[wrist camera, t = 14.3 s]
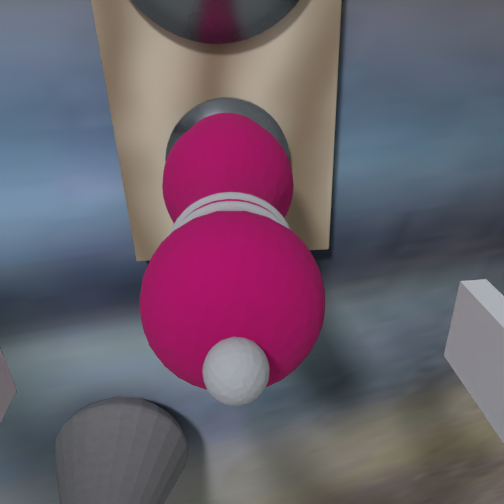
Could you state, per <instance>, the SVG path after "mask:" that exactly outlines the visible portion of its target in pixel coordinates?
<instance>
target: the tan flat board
mask: <svg viewBox="0 0 504 504" xmlns="http://www.w3.org/2000/svg"><path fill="white" fill-rule="evenodd" d="M91 3H92V9H93V15H94V20H95V26H96V32H97V37H98V43H99V49H100V54H101V60H102V66H103V71H104V77H105V83H106V88H107V94H108V100H109V106H110V111H111V117H112V123H113V128H114V134H115V140H116V145H117V151H118V157H119V162H120V168H121V174H122V180H123V185H124V191H125V197H126V202H127V208H128V214H129V219H130V225H131V231H132V236H133V242H134V248H135V253H136V259H137V261H147V260H151V258H152V256H153V254H154V253H155V251H156V250H157V248H158V247H159V245H160V244H161V242H163V241H164V240H165V239H166V238H167V237H168V236H169V235H170V232H171V229H172V227H173V225H174V223H173V221H172V219H171V217H170V215H169V213H168V211H167V208H166V205H165V201H164V198H163V189H162V183H163V171H164V166H165V157H166V148H167V144H168V141H169V138H170V135H171V133H172V131H173V129H174V127H175V125H176V124H177V123H178V121H179V120H180V119H181V118H182V116H183V115H184V114H185V113H186V112H188V111H189V110H190V109H192V108H193V107H195V106H196V105H198V104H200V103H202V102H205V101H207V100H211V99H215V98H222V97H233V98H239V99H244V100H247V101H250V102H252V103H254V104H256V105H258V106H260V107H261V108H263V109H264V110H265V111H267V112H268V113H269V114H270V115H271V116H272V117H273V118H274V119H275V120H276V122H277V123H278V125H279V126H280V128H281V129H282V131H283V133H284V135H285V138H286V140H287V143H288V148H289V153H290V165H291V169H292V175H293V183H294V188H293V197H292V201H291V205H290V207H289V210H288V212H287V214H286V217H285V220H286V221H287V223H288V226H289V228H290V229H291V230H292V231H293V232H294V233H295V234H296V235H297V236H298V237H299V238H300V239H301V240H302V241H303V242H304V243H305V244H306V246H307V247H308V249H309V250H322V249H329V234H330V214H331V195H332V175H333V156H334V136H335V117H336V98H337V78H338V59H339V39H340V20H341V0H299V2H298V3H297V4H296V6H295V7H294V8H293V9H292V10H291V11H290V12H289V13H288V14H287V15H286V16H285V17H284V18H283V19H281V20H280V21H279V22H278V23H276V24H275V25H274V26H273V27H271V28H269V29H268V30H266V31H264V32H263V33H261V34H259V35H256V36H254V37H251V38H249V39H246V40H242V41H238V42H234V43H225V44H207V43H201V42H195V41H191V40H188V39H185V38H182V37H179V36H177V35H175V34H173V33H171V32H169V31H167V30H165V29H164V28H162V27H161V26H159V25H157V24H156V23H154V22H153V21H152V20H151V19H149V18H148V17H147V16H146V15H145V14H144V13H142V12H141V11H140V10H139V9H138V8H137V6H136V5H135V4H134V3H133V2H132V1H131V0H91Z"/></svg>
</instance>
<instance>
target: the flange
mask: <svg viewBox="0 0 504 504" xmlns="http://www.w3.org/2000/svg"><path fill="white" fill-rule="evenodd" d="M217 113H235V114H240V115H243V116H246V117H248V118H250V119H252V120H253V121H255V122H257V123H258V124H259V125H260V126H261V127H263V128H264V129H265V130H267V131H268V132H269V133H271V134H272V135H273V136H274V137H275V138H276V139H277V140H278V141H279V143H280V144H281V146H282V147H283V149H284V150H285V152H286V154H287V157H288V159H289V162H290V153H289V148H288V143H287V140H286V138H285V135H284V133H283V131H282V129H281V128H280V126H279V125H278V123H277V122H276V120H275V119H274V118H273V117H272V116H271V115H270V114H269V113H268V112H267V111H265V110H264V109H263V108H261V107H260V106H258V105H256V104H254V103H252V102H250V101H247V100H244V99H239V98H233V97H222V98H215V99H211V100H207V101H205V102H202V103H200V104H198V105H196V106H195V107H193V108H192V109H190V110H189V111H188V112H186V113H185V114H184V115H183V116H182V118H181V119H180V120H179V121H178V123H177V124H176V125H175V127H174V129H173V131H172V133H171V135H170V138H169V141H168V144H167V148H166V157H165V162H166V159H167V157H168V155H169V152H170V150H171V149H172V147H173V146H174V144H175V143H176V141H177V140H178V139H179V138H180V137H181V136H182V135H183V134H184V133H186V132H187V131H188V130H189V129H190V128H191V127H192V126H194V125H195V124H196V123H197V122H198V121H200V120H202V119H203V118H205V117H208V116H210V115H214V114H217Z"/></svg>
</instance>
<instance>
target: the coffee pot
mask: <svg viewBox="0 0 504 504" xmlns="http://www.w3.org/2000/svg"><path fill="white" fill-rule="evenodd" d="M54 455H55V463H56V471H57V479H58V487H59V495H60V503H61V504H163V503H164V502H165V500H166V498H167V496H168V495H169V493H170V491H171V489H172V488H173V486H174V484H175V482H176V481H177V479H178V477H179V475H180V474H181V472H182V470H183V468H184V466H185V462H186V459H187V456H188V448H187V440H186V438H185V436H184V434H183V432H182V429H181V427H180V425H179V423H178V422H177V421H176V420H175V419H174V418H173V417H172V416H171V415H170V414H169V413H168V412H167V411H165V410H163V409H162V408H160V407H159V406H157V405H155V404H154V403H152V402H150V401H148V400H145V399H142V398H138V397H131V396H120V397H114V398H109V399H105V400H101V401H97V402H94V403H92V404H90V405H88V406H86V407H84V408H82V409H80V410H79V411H78V412H76V413H75V414H74V415H73V416H72V417H71V418H70V419H69V420H68V421H66V422H65V423H64V424H63V426H62V427H61V429H60V431H59V433H58V435H57V437H56V440H55V449H54Z"/></svg>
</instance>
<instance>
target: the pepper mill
mask: <svg viewBox="0 0 504 504" xmlns="http://www.w3.org/2000/svg"><path fill="white" fill-rule="evenodd" d="M293 188H294V183H293V175H292V169H291V165H290V162H289V159H288V157H287V154H286V152H285V150H284V149H283V147H282V146H281V144H280V143H279V141H278V140H277V139H276V138H275V137H274V136H273V135H272V134H271V133H269V132H268V131H267V130H265V129H264V128H263V127H261V126H260V125H259V124H258V123H257V122H255V121H253V120H252V119H250V118H248V117H246V116H243V115H240V114H235V113H217V114H214V115H210V116H208V117H205V118H203V119H202V120H200V121H198V122H197V123H196V124H195V125H194V126H192V127H191V128H190V129H189V130H188V131H187V132H186V133H184V134H183V135H182V136H181V137H180V138H179V139H178V140H177V141H176V143H175V144H174V146H173V147H172V149H171V150H170V152H169V155H168V157H167V159H166V162H165V166H164V171H163V183H162V189H163V198H164V201H165V205H166V208H167V211H168V213H169V215H170V217H171V219H172V221H173V223H174V225H173V227H172V229H171V232H170V235H169V236H168V237H167V238H166V239H165V240H164V241H163V242H161V244H160V245H159V247H158V248H157V250H156V251H155V253H154V254H153V256H152V258H151V260H150V262H149V264H148V267H147V269H146V271H145V274H144V276H143V281H142V287H141V294H140V313H141V320H142V325H143V329H144V333H145V335H146V337H147V340H148V342H149V345H150V347H151V348H152V350H153V351H154V353H155V354H156V356H157V357H158V358H159V359H160V361H161V362H162V363H163V364H164V366H165V367H166V368H168V369H169V370H170V371H171V372H172V373H174V374H175V375H176V376H177V377H179V378H181V379H182V380H184V381H186V382H188V383H190V384H192V385H194V386H197V387H200V388H204V389H207V390H208V391H209V392H210V394H211V395H212V396H213V397H214V398H215V399H217V400H218V401H219V402H221V403H223V404H226V405H231V406H242V405H246V404H249V403H251V402H253V401H254V400H256V399H257V398H258V397H259V396H260V395H261V394H262V392H263V391H264V390H265V388H266V387H267V386H269V385H272V384H274V383H276V382H278V381H280V380H282V379H283V378H285V377H286V376H287V375H288V374H290V373H291V372H292V371H294V370H295V369H296V368H297V367H298V366H299V365H300V364H301V362H302V361H303V360H304V359H305V358H306V357H307V355H308V354H309V352H310V351H311V349H312V348H313V346H314V344H315V343H316V341H317V339H318V336H319V333H320V331H321V328H322V325H323V320H324V312H325V292H324V286H323V281H322V277H321V273H320V270H319V268H318V265H317V263H316V261H315V259H314V257H313V255H312V254H311V252H310V251H309V249H308V247H307V246H306V244H305V243H304V242H303V241H302V240H301V239H300V238H299V237H298V236H297V235H296V234H295V233H294V232H293V231H292V230H291V229H290V228H289V226H288V223H287V221H286V220H285V217H286V214H287V212H288V210H289V207H290V205H291V201H292V197H293Z"/></svg>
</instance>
